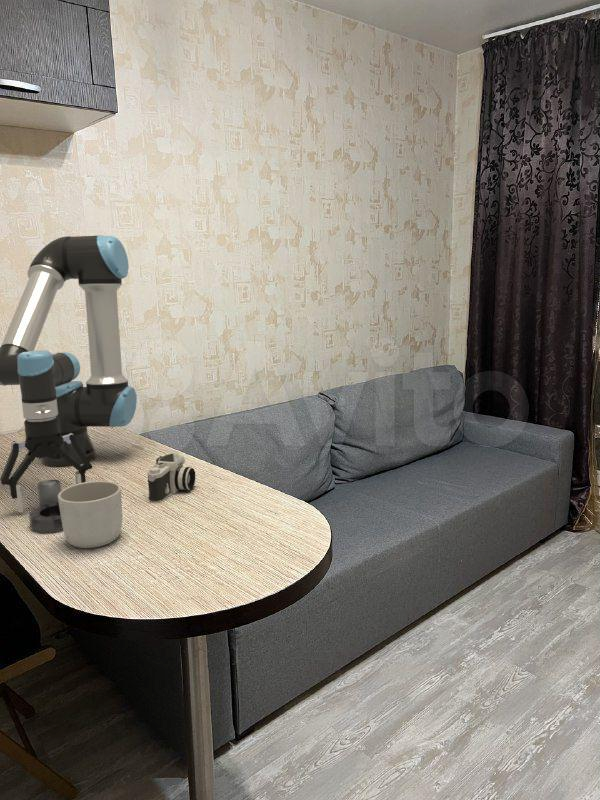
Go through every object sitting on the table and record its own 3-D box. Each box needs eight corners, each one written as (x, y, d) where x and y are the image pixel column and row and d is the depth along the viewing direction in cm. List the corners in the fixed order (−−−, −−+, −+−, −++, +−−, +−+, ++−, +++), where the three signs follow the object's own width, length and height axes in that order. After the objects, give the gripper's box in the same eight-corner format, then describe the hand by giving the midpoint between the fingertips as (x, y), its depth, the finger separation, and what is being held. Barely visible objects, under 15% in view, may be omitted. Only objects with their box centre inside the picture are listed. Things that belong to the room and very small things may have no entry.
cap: (38, 505, 149) (35, 481, 148) (60, 501, 152) (57, 477, 151) (42, 512, 145) (39, 487, 144) (64, 508, 148) (62, 483, 146)
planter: (76, 527, 137) (71, 480, 134) (132, 527, 136) (128, 480, 134) (53, 553, 124) (47, 502, 122) (114, 553, 124) (109, 502, 122)
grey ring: (27, 520, 141) (26, 508, 140) (75, 510, 146) (74, 498, 145) (35, 537, 132) (34, 524, 131) (86, 525, 137) (85, 513, 137)
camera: (177, 505, 148) (174, 465, 146) (144, 503, 150) (140, 463, 148) (201, 482, 163) (199, 446, 161) (171, 480, 165) (168, 444, 163)
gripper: (-17, 429, 134) (-5, 521, 139) (100, 413, 147) (107, 498, 152) (-21, 422, 140) (-9, 510, 145) (92, 407, 153) (99, 489, 158)
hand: (50, 504), depth 148 cm, fingers open, 13 cm apart
